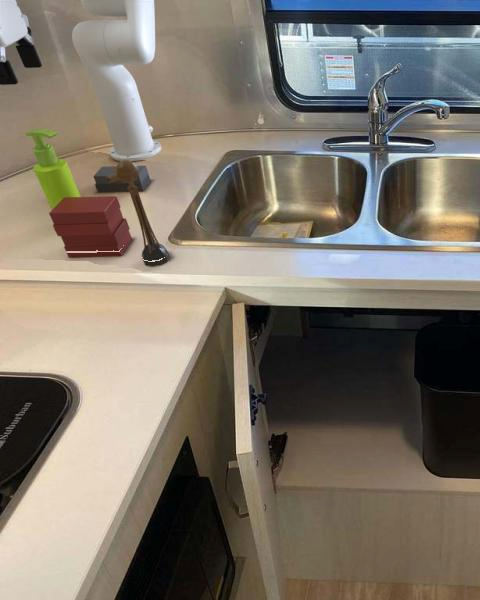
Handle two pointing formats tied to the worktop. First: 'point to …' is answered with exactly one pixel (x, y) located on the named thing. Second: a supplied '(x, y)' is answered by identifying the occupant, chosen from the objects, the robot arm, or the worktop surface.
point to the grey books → (117, 185)
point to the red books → (96, 237)
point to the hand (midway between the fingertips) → (21, 75)
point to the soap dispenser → (52, 169)
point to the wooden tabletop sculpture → (140, 214)
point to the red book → (85, 210)
